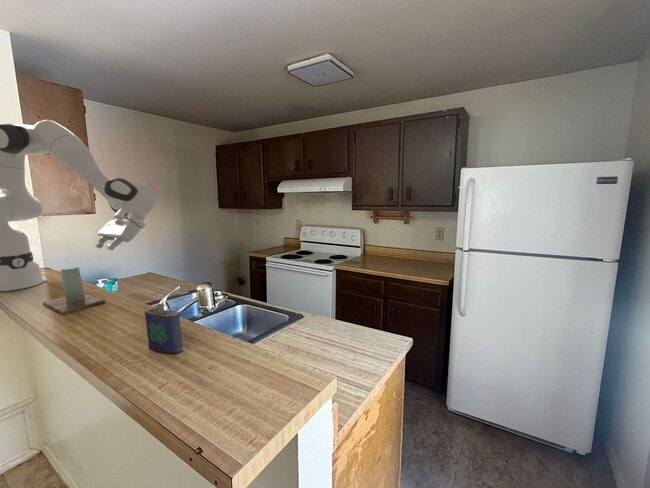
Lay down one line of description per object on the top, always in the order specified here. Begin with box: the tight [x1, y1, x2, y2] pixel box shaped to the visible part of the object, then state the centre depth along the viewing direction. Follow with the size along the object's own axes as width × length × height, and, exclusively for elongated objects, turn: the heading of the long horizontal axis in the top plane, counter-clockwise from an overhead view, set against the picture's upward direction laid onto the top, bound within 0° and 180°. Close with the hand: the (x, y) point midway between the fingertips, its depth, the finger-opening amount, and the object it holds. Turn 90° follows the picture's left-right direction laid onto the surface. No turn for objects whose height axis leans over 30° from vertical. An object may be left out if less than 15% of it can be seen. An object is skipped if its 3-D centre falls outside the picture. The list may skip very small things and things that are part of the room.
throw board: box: [42, 292, 106, 315], centre depth 109 cm, size 18×12×1 cm, turn 57°
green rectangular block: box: [59, 266, 85, 305], centre depth 107 cm, size 5×5×12 cm
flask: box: [144, 303, 184, 355], centre depth 73 cm, size 10×3×12 cm, turn 69°
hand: (103, 248), depth 114 cm, fingers open, 8 cm apart
